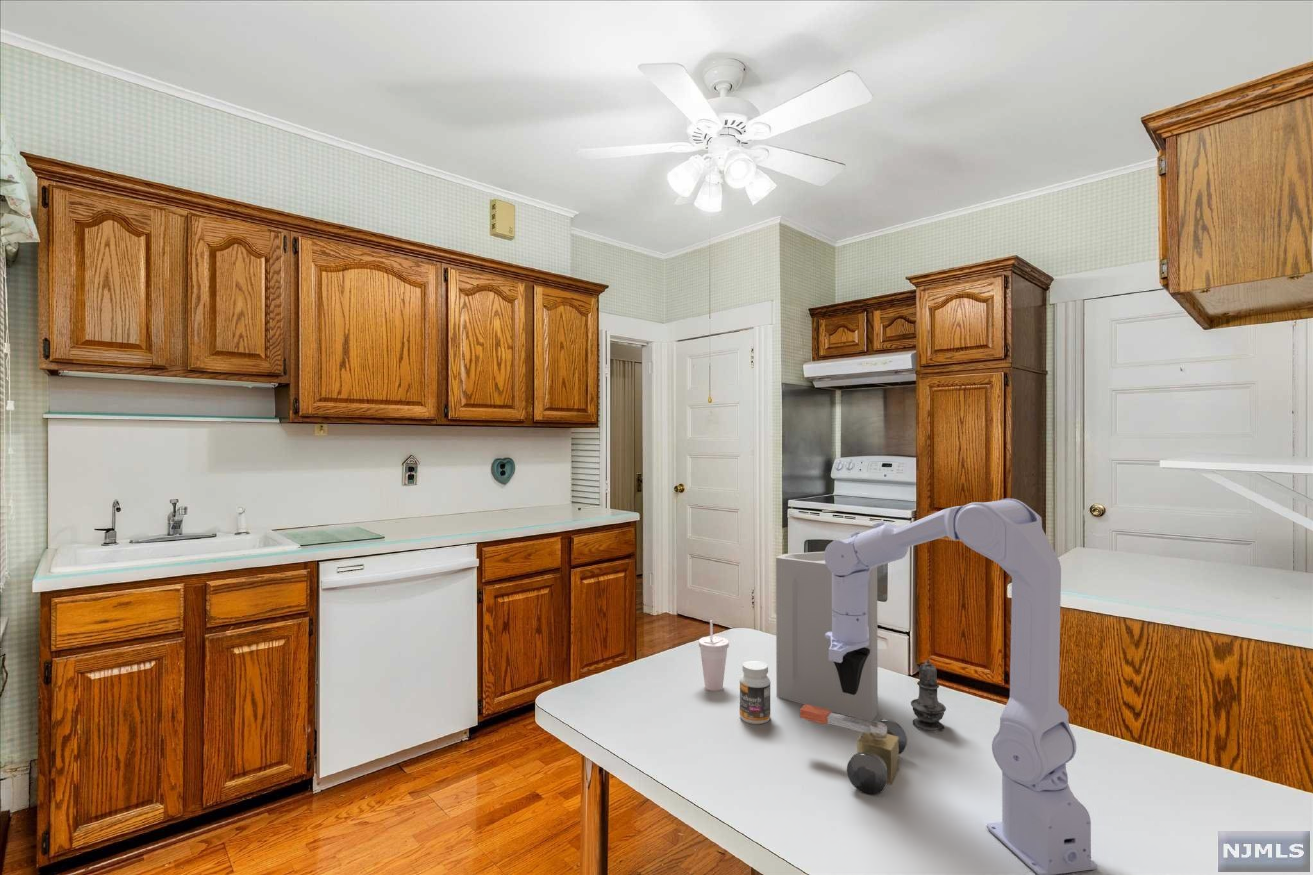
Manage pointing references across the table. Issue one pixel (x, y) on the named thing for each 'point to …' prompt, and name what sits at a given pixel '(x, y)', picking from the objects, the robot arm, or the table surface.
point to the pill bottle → (755, 693)
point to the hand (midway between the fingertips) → (849, 692)
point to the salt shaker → (928, 701)
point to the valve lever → (843, 721)
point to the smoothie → (713, 659)
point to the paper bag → (818, 639)
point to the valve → (877, 759)
